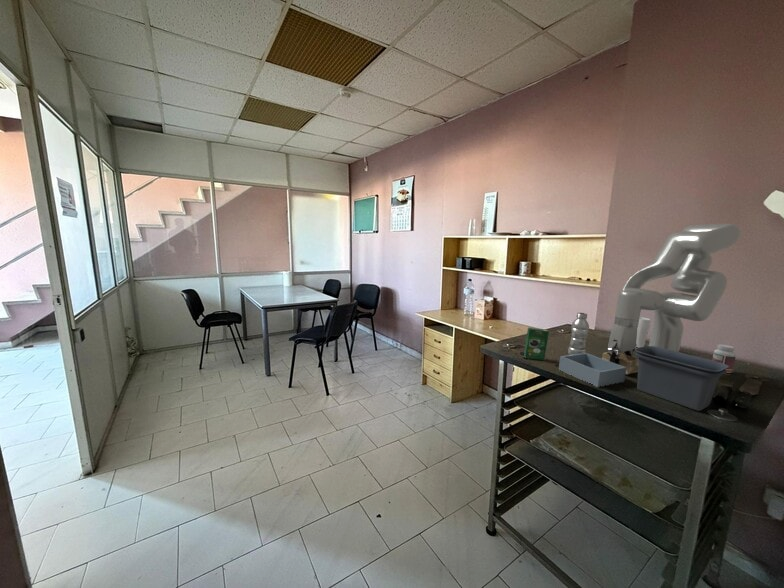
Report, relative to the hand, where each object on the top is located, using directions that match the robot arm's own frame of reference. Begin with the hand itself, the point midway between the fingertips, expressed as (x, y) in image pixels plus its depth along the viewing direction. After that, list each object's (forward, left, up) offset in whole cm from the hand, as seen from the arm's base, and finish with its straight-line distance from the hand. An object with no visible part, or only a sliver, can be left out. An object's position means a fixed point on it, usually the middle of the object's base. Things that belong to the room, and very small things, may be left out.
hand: (619, 365), depth 125 cm
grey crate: (+17, 0, -2) cm, 17 cm away
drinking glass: (-42, -17, -2) cm, 46 cm away
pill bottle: (-43, +14, -2) cm, 45 cm away
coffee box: (+24, -20, -2) cm, 31 cm away
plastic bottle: (+5, -15, -2) cm, 16 cm away
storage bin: (+6, +20, -2) cm, 21 cm away
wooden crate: (0, 0, -1) cm, 1 cm away
